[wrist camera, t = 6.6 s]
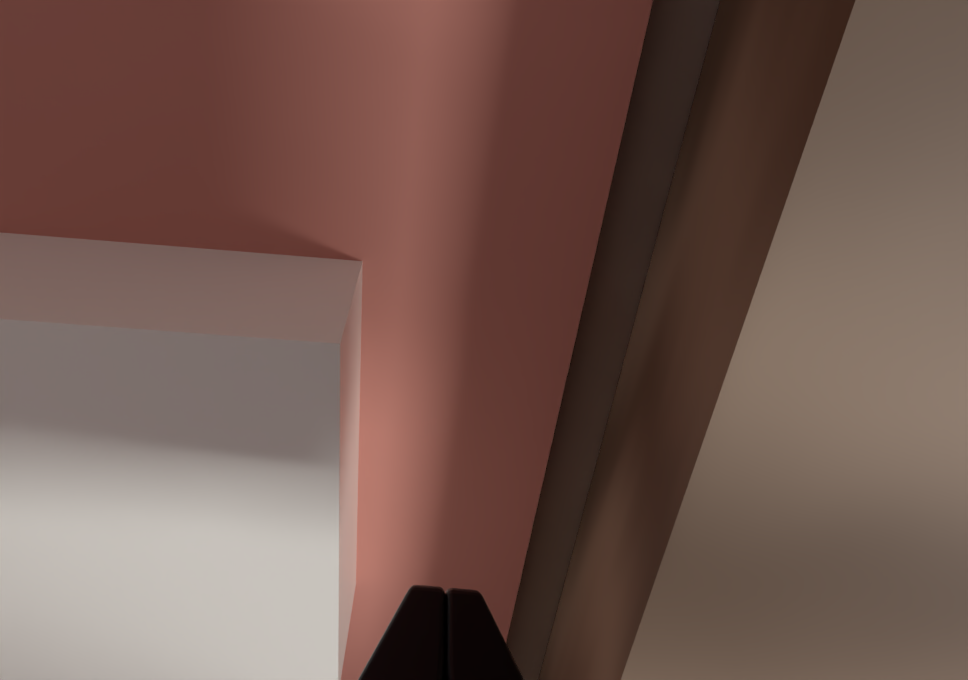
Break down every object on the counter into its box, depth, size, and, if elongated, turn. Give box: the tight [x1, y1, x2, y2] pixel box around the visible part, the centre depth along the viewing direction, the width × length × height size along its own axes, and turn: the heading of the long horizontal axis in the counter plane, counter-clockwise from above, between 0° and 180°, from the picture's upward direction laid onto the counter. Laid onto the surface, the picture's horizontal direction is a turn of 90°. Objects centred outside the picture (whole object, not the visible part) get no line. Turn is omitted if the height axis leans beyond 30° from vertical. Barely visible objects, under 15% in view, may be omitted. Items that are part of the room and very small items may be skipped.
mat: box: [0, 0, 653, 680], centre depth 14 cm, size 18×12×1 cm, turn 172°
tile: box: [0, 233, 363, 680], centre depth 13 cm, size 7×6×2 cm
